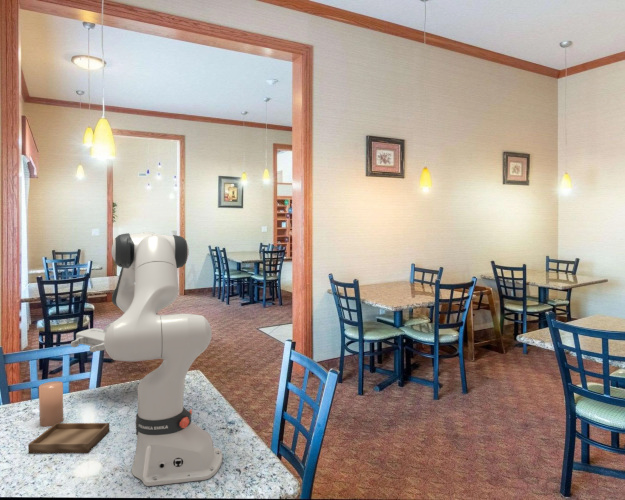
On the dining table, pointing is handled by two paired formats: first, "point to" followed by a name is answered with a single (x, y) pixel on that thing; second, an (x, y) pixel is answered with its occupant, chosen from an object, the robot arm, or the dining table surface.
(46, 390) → the peach cylinder
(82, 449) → the tray
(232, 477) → the dining table surface
